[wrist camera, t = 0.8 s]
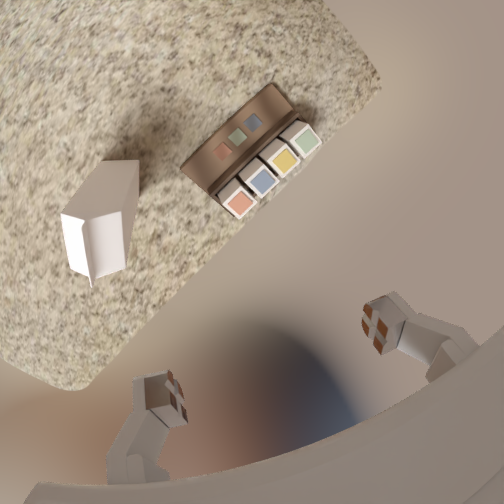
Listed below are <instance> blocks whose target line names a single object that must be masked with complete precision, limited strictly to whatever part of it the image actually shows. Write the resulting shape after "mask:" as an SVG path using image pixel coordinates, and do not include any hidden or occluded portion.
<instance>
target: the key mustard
mask: <svg viewBox="0 0 504 504" xmlns="http://www.w3.org/2000/svg"><path fill="white" fill-rule="evenodd" d="M258 155H259V156H260V157H261V158H262V159H263V160H264V161H265V162H266V163H267V164H268V165H269V166H270V167H271V168H272V170H273V171H275V172H276V173H277V174H278V175H279V176H281V177H282V178H283V177H285V176H286V175H287V174H288V173H289V172H290V171H291V170H292V169H293V168H294V167H295V166H296V165H298V164H299V163H300V162H301V161H300V159H299V158H298V157H297V156H296V155H295V153H294V152H293V151H292V150H291V149H290V148H289V146H288V145H287V144H286V143H284V142H282V141H281V140H279V139H277V138H275V139H274V140H273V141H272V142H271V143H270V144H269V145H268V146H267V147H265V148H264V149H263V150H262V151H261V152H260V153H259V154H258Z"/></svg>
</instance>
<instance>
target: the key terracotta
mask: <svg viewBox="0 0 504 504" xmlns="http://www.w3.org/2000/svg"><path fill="white" fill-rule="evenodd" d="M217 195H218V197H219V199H220V201H221V203H222V205H223V206H224V207H226V208H227V209H228V210H229V211H230V212H231V213H232V214H234V215H235V216H236V217H237V218H238V219H239V220H240V219H241V218H242V217H243V216H244V215H245V214H246V213H247V212H248V211H249V210H250V209H251V208H252V207H253V206H254V205H255V204H256V203H257V201H256V199H255V198H254V197H253V195H252V194H251V193H250V192H249V191H248V190H247V189H246V188H245V187H244V186H243V185H242V184H241V183H240V182H239V181H238V180H237V179H236V178H235V177H234V178H233V179H232V180H231V181H230V182H229V183H228V184H227V185H226V186H225V187H224V188H223V189H222V190H221V191H220V192H219V193H218V194H217Z"/></svg>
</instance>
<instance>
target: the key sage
mask: <svg viewBox="0 0 504 504" xmlns="http://www.w3.org/2000/svg"><path fill="white" fill-rule="evenodd" d="M279 136H280V137H281V138H282V139H283V141H284V142H285V143H286V144H287V145H288V146H289V148H290V149H291V150H292V151H293V152H294V153H296V154H297V155H299V156H301V157H303V158H304V159H305V158H306V157H307V156H308V155H309V154H310V153H311V152H312V151H313V150H314V149H316V148H317V147H318V146H319V145H320V144H321V143H322V141H321V140H320V139H319V137H318V136H317V135H316V133H315V132H314V131H313V129H312V128H311V127H310V126H309V124H307V123H304V122H301V121H298V120H296V121H295V122H294V123H292V124H291V125H290V126H289V127H288V128H287V129H286V130H285V131H284V132H282V133H281V134H280V135H279Z"/></svg>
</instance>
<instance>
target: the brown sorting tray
mask: <svg viewBox="0 0 504 504" xmlns="http://www.w3.org/2000/svg"><path fill="white" fill-rule="evenodd" d="M296 120H298V121H301V122H304V123H307V122H306V121H305V120H304V119H303V117H302V116H301V115H300V114H299V112H296V111H295V110H294V109H293V108H292V107H291V105H290V104H289V103H288V102H287V101H286V99H285V98H284V97H283V96H282V95H281V94H280V92H279V91H278V90H277V89H276V88H275V87H274V86H273V84H268V85H267V86H265V87H264V88H263V89H262V90H261V91H260V92H258V93H257V94H256V95H255V96H254V97H253V98H252V99H250V100H249V101H248V102H247V103H246V104H245V105H244V106H243V107H241V108H240V109H239V110H238V111H237V112H236V113H235V114H234V115H233V116H232V117H230V118H229V119H228V120H227V121H226V122H225V123H224V124H223V125H222V126H221V127H220V128H219V129H218V130H217V131H216V132H215V133H214V134H213V135H212V136H211V137H210V138H208V139H207V140H206V141H205V142H204V143H203V144H202V145H201V146H200V147H199V148H198V149H197V150H196V151H195V152H194V154H193V155H192V156H191V157H190V158H189V159H188V160H187V161H186V162H185V163H184V164H183V165H182V166H181V167H180V170H181V171H182V172H183V173H184V174H185V175H187V176H188V177H189V178H190V179H191V180H192V181H193V182H195V183H196V184H197V185H198V186H199V187H200V188H202V189H203V190H204V191H205V192H206V193H207V194H208V195H209V196H211V197H212V198H213V199H214V200H215V201H216V202H217V203H219V204H220V205H221V206H222V207H223V208H224V209H225V210H227V211H228V212H229V213H230V214H231V215H232V216H233V217H235V215H234V214H232V213H231V212H230V211H229V210H228V209H227V208H226V207H224V206H223V205H222V203H221V201H220V199H219V197H218V195H217V194H218V193H219V192H220V191H221V190H222V189H223V188H224V187H225V186H226V185H227V184H228V183H229V182H230V181H231V180H232V179H233V178H234V177H235V178H236V179H237V180H238V181H239V182H240V183H241V184H242V185H243V186H244V187H245V188H246V189H247V190H248V191H249V192H250V193H251V194H252V195H253V197H255V196H256V195H257V194H256V193H255V192H254V191H253V190H252V189H251V188H250V187H249V186H248V185H247V184H246V183H245V182H244V181H243V180H242V178H241V177H240V176H239V175H238V173H239V172H240V171H241V170H242V169H244V168H245V167H246V166H247V165H248V164H249V163H250V162H251V161H252V160H253V159H254V158H255V157H256V158H257V159H258V160H260V161H261V162H262V163H263V164H264V165H265V166H266V167H267V168H268V169H269V170H270V171H271V172H272V173H273V174H274V175H275V177H277V176H278V174H277V173H276V172H275V171H273V170H272V168H271V167H270V166H269V165H268V164H267V163H266V162H265V161H264V160H263V159H262V158H261V157H260V156H259V155H258V154H259V153H260V152H261V151H262V150H263V149H264V148H265V147H267V146H268V145H269V144H270V143H271V142H272V141H273V140H274V139H275V138H277V139H279V140H281V141H282V142H284V141H283V139H282V138H281V137H280V136H279V135H280V134H281V133H282V132H284V131H285V130H286V129H287V128H288V127H289V126H290V125H291V124H292V123H294V122H295V121H296ZM284 143H285V142H284ZM295 155H296V156H297V157H298V156H299V155H297V154H296V153H295Z"/></svg>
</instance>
